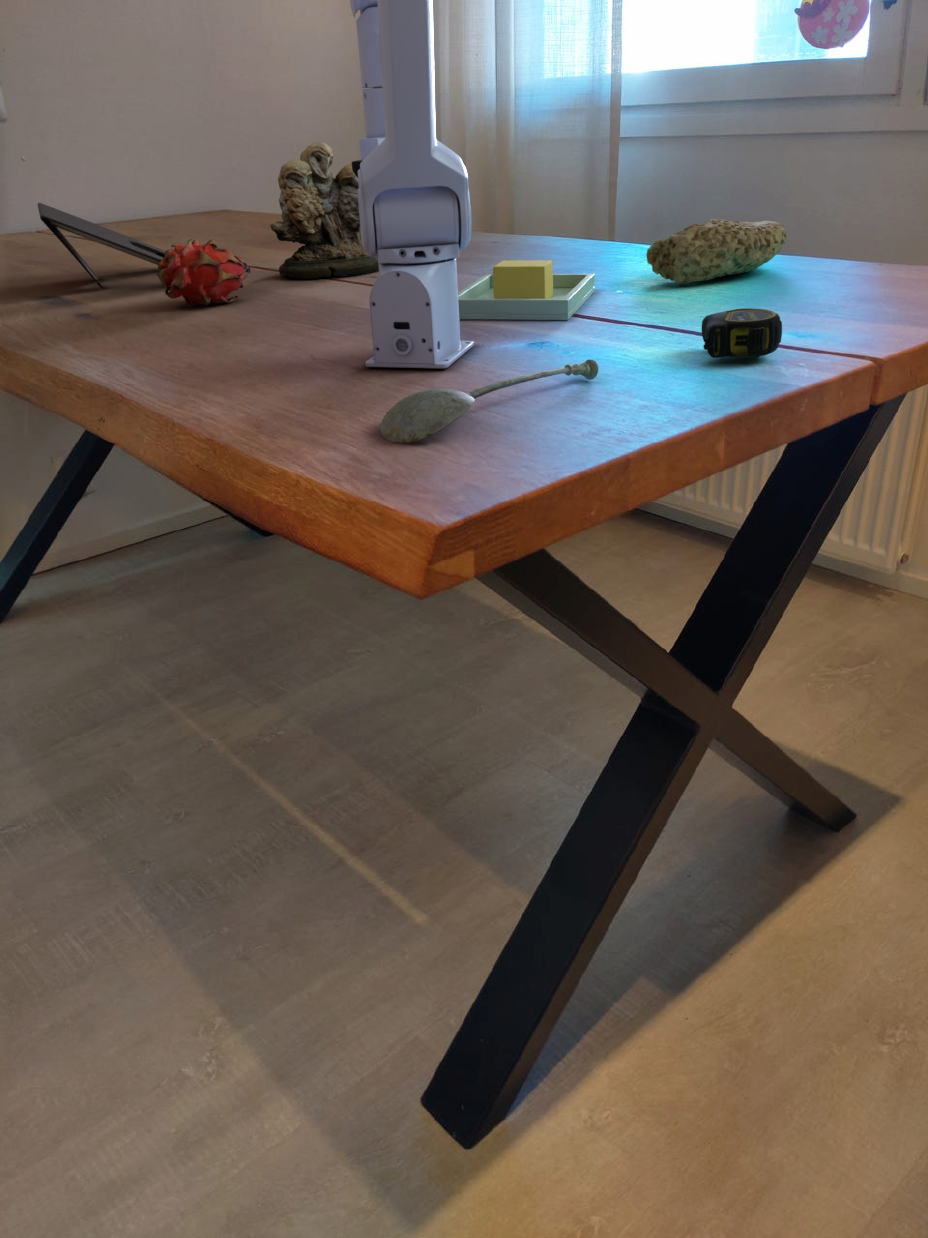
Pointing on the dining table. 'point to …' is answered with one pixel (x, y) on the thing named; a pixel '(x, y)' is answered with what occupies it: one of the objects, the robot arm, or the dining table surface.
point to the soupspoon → (453, 405)
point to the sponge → (715, 249)
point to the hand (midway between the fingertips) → (400, 228)
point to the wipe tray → (526, 300)
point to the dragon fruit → (201, 273)
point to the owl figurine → (321, 217)
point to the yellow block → (523, 279)
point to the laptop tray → (95, 237)
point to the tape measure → (741, 333)
